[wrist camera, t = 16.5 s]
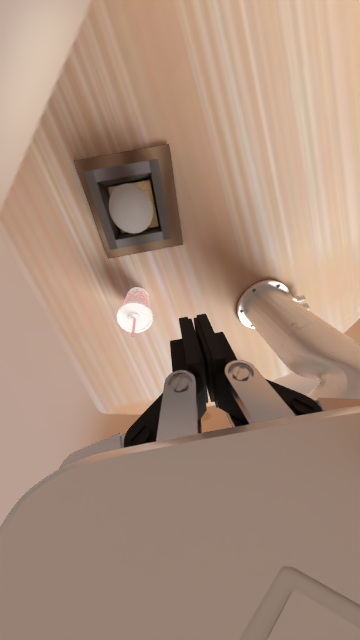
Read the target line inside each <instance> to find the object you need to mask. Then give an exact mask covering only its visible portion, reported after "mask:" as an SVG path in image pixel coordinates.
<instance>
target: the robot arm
mask: <svg viewBox="0 0 360 640" xmlns="http://www.w3.org/2000/svg"><path fill="white" fill-rule="evenodd" d="M304 301H305V297H304V296H298V297H293V296H291V295H290V293H289V290H288V288H287V287H286V286H285V285H284V284H282V283H281V282H279V281H276V280H264V281H260V282H258V283H256V284H254V285H252V286H251V287H249V288H248V289H247V290H246V291H245V292H244V293H243V295H242V296H241V298H240V300H239V302H238V305H237V316H238V318H239V320H240V321H241V322H242V323H243V324H244V325H245V326H247V327H249V328H253V329H256V330H257V331H258V332H259V334H260V335H261V336H262V337H263V339H264V340H265V341H266V342H267V343H268V345H269V346H270V347H271V348H272V349H273V351H274V352H275V353H276V354H277V355H278V357H279V358H280V359H281V360H282V362H283V363H284V364H285V365H286V366H287V367H288V368H289V369H290V370H291V371H292V372H294V373H296V374H298V375H300V376H302V377H305V378H309V379H314V380H319V381H321V382H320V384H319V385H317V386H316V387H315V388H314V389H313V390H312V391H311V392H310V393H309V394H307V395H303V394H301V393H298V392H296V391H294V390H291V389H289V388H286V387H284V386H281V385H279V384H276V383H274V382H272V381H269V380H267V379H265V378H264V377H263V376H262V375H261V374H260V372H259V371H258V370H257V369H256V368H255V367H254V366H253V365H252V364H251V363H249V362H247V361H243V360H237V358H236V356H235V354H234V352H233V351H232V349H231V347H230V345H229V343H228V341H227V339H226V337H225V335H224V333H223V332H219V333H214V331H213V329H212V326H211V324H210V322H209V320H208V318H207V315H206V314H201V315H197V318H194V325H195V329H194V326H193V323H192V319H188V317H184V318H179V322H180V328H181V334H182V339H179V340H173V341H170V347H171V359H172V370H173V373H171V374H170V375H169V376H168V377H167V378H166V380H165V383H164V390H163V393H162V394H161V395H160V396H159V398H158V399H157V400H156V401H155V402H154V403H153V404H152V405H151V406H150V407H149V408H148V409H147V410H146V411H145V412H144V413H143V414H142V415H141V416H140V418H139V419H138V420H137V421H136V422H135V423H134V424H133V425H132V426H131V427H130V428H129V430H128V431H127V433H125V434H123V435H120V433H119V434H116V435H114V436H111V437H109V438H107V439H104V440H102V441H99V442H97V443H95V444H92V445H90V446H88V447H85V448H83V449H80V450H78V451H76V452H74V453H73V454H71V455H69V456H68V457H67V458H66V459H65V460H64V462H63V463H62V465H61V466H60V468H59V470H57V471H55V472H54V473H52V474H50V475H49V476H47V477H46V478H44V479H43V480H41V481H40V482H38V483H37V484H36V485H35V486H33V487H32V488H31V489H30V490H28V492H26V493H25V494H24V495H23V496H22V497H21V498H20V499H19V501H18V502H17V503H16V504H15V505H14V507H13V508H12V509H11V511H10V512H9V514H8V515H7V517H6V518H5V520H4V521H3V523H2V524H1V526H0V640H360V344H359V343H357V342H356V341H354V340H353V339H351V338H349V337H348V336H346V335H345V334H343V333H341V332H340V331H338V330H337V329H335V328H334V327H333V326H331V325H330V324H328V323H327V322H325V321H324V320H322V319H321V318H319V317H318V316H316V315H315V314H313V313H312V312H310V311H309V306H308V304H307V303H303V304H299V302H304ZM297 302H298V303H297ZM207 389H208V392H209V396H210V400H211V402H214V401H215V404H216V407H219V408H220V409H222V410H224V411H225V412H226V415H227V418H228V420H229V422H230V424H231V426H232V428H227V429H221V430H215V431H210V432H204V433H202V423H201V417H202V416H203V415H204V413H205V412H206V403H208V395H207Z"/></svg>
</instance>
